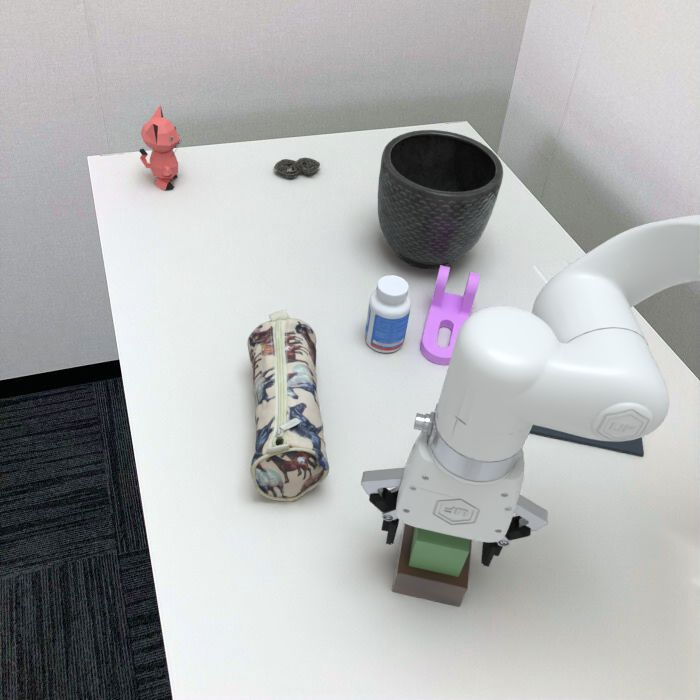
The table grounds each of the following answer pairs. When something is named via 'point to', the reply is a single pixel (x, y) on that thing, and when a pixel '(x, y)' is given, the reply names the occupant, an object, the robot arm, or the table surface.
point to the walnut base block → (427, 576)
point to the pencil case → (286, 409)
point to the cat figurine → (161, 149)
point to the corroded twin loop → (296, 167)
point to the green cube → (438, 552)
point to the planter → (436, 195)
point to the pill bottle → (388, 314)
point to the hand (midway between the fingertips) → (438, 542)
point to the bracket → (447, 316)
